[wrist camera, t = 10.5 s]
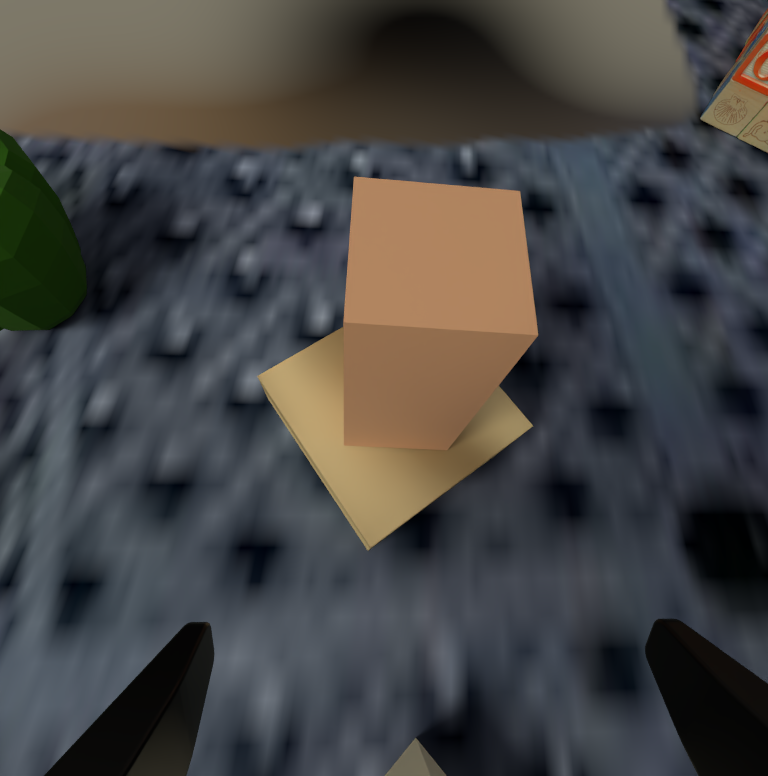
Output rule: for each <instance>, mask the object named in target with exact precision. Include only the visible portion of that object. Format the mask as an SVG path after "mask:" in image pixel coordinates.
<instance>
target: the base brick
mask: <svg viewBox="0 0 768 776" xmlns="http://www.w3.org/2000/svg"><path fill="white" fill-rule="evenodd" d="M258 378H259V380H260V382H261V385H262V387H263V389H264V391H265V393H266V395H267V397H268V399H269V401H270V402H271V404H272V406H273V407H274V409H275V410H276V412H277V413H278V415H279V416H280V418H281V419H282V421H283V422H284V424H285V425H286V427H287V428H288V430H289V431H290V433H291V434H292V436H293V437H294V439H295V440H296V442H297V444H298V445H299V447H300V448H301V450H302V451H303V453H304V454H305V456H306V457H307V459H308V460H309V462H310V463H311V465H312V466H313V468H314V469H315V471H316V472H317V474H318V475H319V477H320V479H321V480H322V482H323V483H324V485H325V486H326V488H327V489H328V491H329V492H330V494H331V495H332V497H333V498H334V500H335V501H336V503H337V504H338V506H339V507H340V509H341V510H342V512H343V513H344V515H345V517H346V518H347V520H348V521H349V523H350V524H351V526H352V527H353V529H354V530H355V532H356V533H357V535H358V536H359V538H360V539H361V541H362V542H363V544H364V545H365V547H366V548H367V550H370V549H371V548H372V547H374V546H375V545H376V544H378V543H379V542H380V541H382V540H383V539H384V538H386V537H387V536H388V535H390V534H391V533H392V532H394V531H395V530H396V529H398V528H399V527H400V526H402V525H403V524H404V523H406V522H407V521H408V520H410V519H411V518H412V517H414V516H415V515H416V514H418V513H419V512H420V511H422V510H423V509H424V508H426V507H427V506H428V505H430V504H431V503H432V502H434V501H435V500H436V499H438V498H439V497H440V496H442V495H443V494H444V493H446V492H447V491H448V490H450V489H451V488H452V487H454V486H455V485H456V484H458V483H459V482H460V481H462V480H463V479H464V478H466V477H467V476H468V475H470V474H471V473H472V472H474V471H475V470H476V469H478V468H479V467H480V466H482V465H483V464H484V463H486V462H487V461H488V460H490V459H491V458H492V457H494V456H495V455H496V454H498V453H499V452H500V451H502V450H503V449H504V448H506V447H507V446H508V445H510V444H511V443H512V442H513V441H515V440H516V439H517V438H519V437H520V436H521V435H522V434H524V433H525V432H526V431H527V430H529V429H530V428H531V427H532V426H533V425H532V424H531V423H530V422H529V421H528V419H527V418H526V417H525V416H524V415H523V414H522V412H521V411H520V410H519V409H518V408H517V406H516V405H515V404H514V403H513V402H512V401H511V399H510V398H509V397H508V396H507V395H506V393H505V392H504V391H503V390H502V389H501V388H500V386H498V387H497V388H496V389H495V391H494V392H493V393H492V394H491V396H490V397H489V398H488V399H487V401H486V402H485V403H484V404H483V406H482V407H481V408H480V410H479V411H478V412H477V413H476V415H475V416H474V417H473V418H472V420H471V421H470V422H469V423H468V425H467V426H466V427H465V428H464V430H463V431H462V432H461V434H460V435H459V436H458V437H457V439H456V440H455V441H454V442H453V444H452V445H451V446H450V447H449V449H448V450H428V449H407V448H386V447H365V446H345V445H344V327H342V328H341V329H339V330H337V331H335V332H334V333H332V334H330V335H328V336H327V337H325V338H323V339H321V340H320V341H318V342H316V343H314V344H313V345H311V346H309V347H307V348H306V349H304V350H302V351H300V352H299V353H297V354H295V355H293V356H292V357H290V358H288V359H286V360H285V361H283V362H281V363H280V364H278V365H276V366H274V367H273V368H271V369H269V370H267V371H266V372H264V373H262V374H260V375H259V376H258Z"/></svg>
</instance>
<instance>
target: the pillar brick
mask: <svg viewBox="0 0 768 776" xmlns="http://www.w3.org/2000/svg"><path fill="white" fill-rule="evenodd" d="M537 336H538V329H537V321H536V313H535V305H534V297H533V290H532V282H531V274H530V266H529V258H528V251H527V243H526V235H525V227H524V219H523V212H522V204H521V196H520V191H512V190H501V189H489V188H478V187H467V186H455V185H444V184H432V183H421V182H409V181H398V180H386V179H375V178H363V177H354V186H353V199H352V213H351V227H350V241H349V255H348V268H347V282H346V296H345V310H344V445H345V446H365V447H386V448H407V449H428V450H448V449H449V447H450V446H451V445H452V444H453V442H454V441H455V440H456V439H457V437H458V436H459V435H460V434H461V432H462V431H463V430H464V428H465V427H466V426H467V425H468V423H469V422H470V421H471V420H472V418H473V417H474V416H475V415H476V413H477V412H478V411H479V410H480V408H481V407H482V406H483V404H484V403H485V402H486V401H487V399H488V398H489V397H490V396H491V394H492V393H493V392H494V391H495V389H496V388H497V387H498V386H499V384H500V383H501V382H502V381H503V379H504V378H505V377H506V375H507V374H508V373H509V372H510V370H511V369H512V368H513V367H514V365H515V364H516V363H517V362H518V360H519V359H520V358H521V357H522V355H523V354H524V353H525V351H526V350H527V349H528V348H529V346H530V345H531V344H532V343H533V341H534V340H535V339H536V338H537Z"/></svg>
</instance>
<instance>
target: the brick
mask: <svg viewBox="0 0 768 776" xmlns="http://www.w3.org/2000/svg"><path fill="white" fill-rule="evenodd" d="M385 776H446V774H445V773H444V772H443V771H442V769H441V768H440V767H439V766H438V764H437V763H436V762H435V761H434V759H433V758H432V757H431V756H430V755H429V753H428V752H427V751H426V750H425V748H424V747H423V746H422V745H421V743H420V742H419V741H418V740H417V739H416V738H415V739H414V740H413V742H412V743H411V744H410V745H409V747H408V748H407V749H406V750H405V752H404V753H403V754H402V755H401V756H400V758H399V759H398V760H397V761H396V763H395V764H394V765H393V766H392V768H391V769H390V770H389V771H388V772H387V774H386V775H385Z"/></svg>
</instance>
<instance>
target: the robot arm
mask: <svg viewBox="0 0 768 776" xmlns="http://www.w3.org/2000/svg"><path fill="white" fill-rule="evenodd" d="M645 654H646V658H647V661H648V663H649V666H650V668H651V670H652V673H653V675H654V678H655V680H656V683H657V685H658V687H659V690H660V692H661V695H662V697H663V699H664V702H665V704H666V707H667V709H668V711H669V714H670V716H671V719H672V721H673V723H674V726H675V728H676V730H677V733H678V735H679V737H680V739H681V742H682V744H683V746H684V748H685V750H686V752H687V754H688V756H689V758H690V760H691V762H692V764H693V766H694V768H695V770H696V772H697V774H698V776H768V684H767V683H766V682H765V681H763V680H762V679H760V678H759V677H758V676H756V675H755V674H754V673H752V672H751V671H749V670H748V669H747V668H745V667H744V666H742V665H741V664H740V663H738V662H737V661H736V660H734V659H733V658H731V657H730V656H729V655H727V654H726V653H724V652H723V651H722V650H720V649H719V648H718V647H716V646H715V645H713V644H712V643H711V642H709V641H708V640H706V639H705V638H704V637H702V636H701V635H699V634H698V633H697V632H695V631H694V630H693V629H691V628H690V627H688V626H687V625H686V624H684V623H683V622H681V621H679V620H677V619H657V620H656V621H655V622H654V624H653V627H652V629H651V632H650V635H649V637H648V640H647V643H646V646H645ZM213 662H214V646H213V638H212V631H211V626H210V624H209V623H208V622H190V623H188V624H186V625H185V626H184V627H183V628H182V629H181V630H180V631H179V632H178V633H177V634H176V635H175V636H174V637H173V638H172V639H171V641H170V642H169V643H168V644H167V645H166V646H165V647H164V648H163V649H162V650H161V651H160V652H159V653H158V654H157V655H156V657H155V658H154V659H153V660H152V661H151V662H150V663H149V664H148V665H147V666H146V667H145V668H144V669H143V670H142V672H141V673H140V674H139V675H138V676H137V677H136V678H135V679H134V680H133V681H132V682H131V683H130V684H129V685H128V686H127V688H126V689H125V690H124V691H123V692H122V693H121V694H120V695H119V696H118V697H117V698H116V699H115V700H114V701H113V702H112V704H111V705H110V706H109V707H108V708H107V709H106V710H105V711H104V712H103V713H102V714H101V715H100V716H99V717H98V719H97V720H96V721H95V722H94V723H93V724H92V725H91V726H90V727H89V728H88V729H87V730H86V731H85V732H84V733H83V735H82V736H81V737H80V738H79V739H78V740H77V741H76V742H75V743H74V744H73V745H72V746H71V747H70V748H69V749H68V751H67V752H66V753H65V754H64V755H63V756H62V757H61V758H60V759H59V760H58V761H57V762H56V763H55V764H54V765H53V767H52V768H51V769H50V770H49V771H48V772H47V773H46V774H45V775H44V776H186V774H187V771H188V768H189V765H190V761H191V758H192V754H193V750H194V746H195V742H196V738H197V733H198V729H199V725H200V720H201V716H202V711H203V707H204V703H205V698H206V694H207V689H208V685H209V680H210V676H211V672H212V667H213Z"/></svg>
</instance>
